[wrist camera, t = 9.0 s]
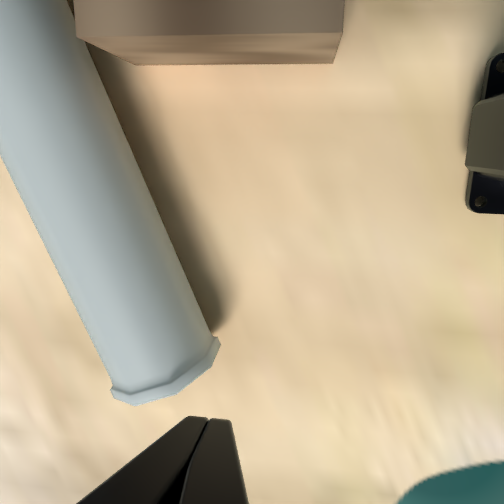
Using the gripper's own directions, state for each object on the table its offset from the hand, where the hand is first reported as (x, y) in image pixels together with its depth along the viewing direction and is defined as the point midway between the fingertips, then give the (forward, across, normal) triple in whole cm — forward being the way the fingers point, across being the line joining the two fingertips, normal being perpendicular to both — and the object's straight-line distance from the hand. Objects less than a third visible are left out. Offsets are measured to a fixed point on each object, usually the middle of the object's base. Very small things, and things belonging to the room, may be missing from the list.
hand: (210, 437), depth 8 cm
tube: (+14, +10, -6) cm, 18 cm away
